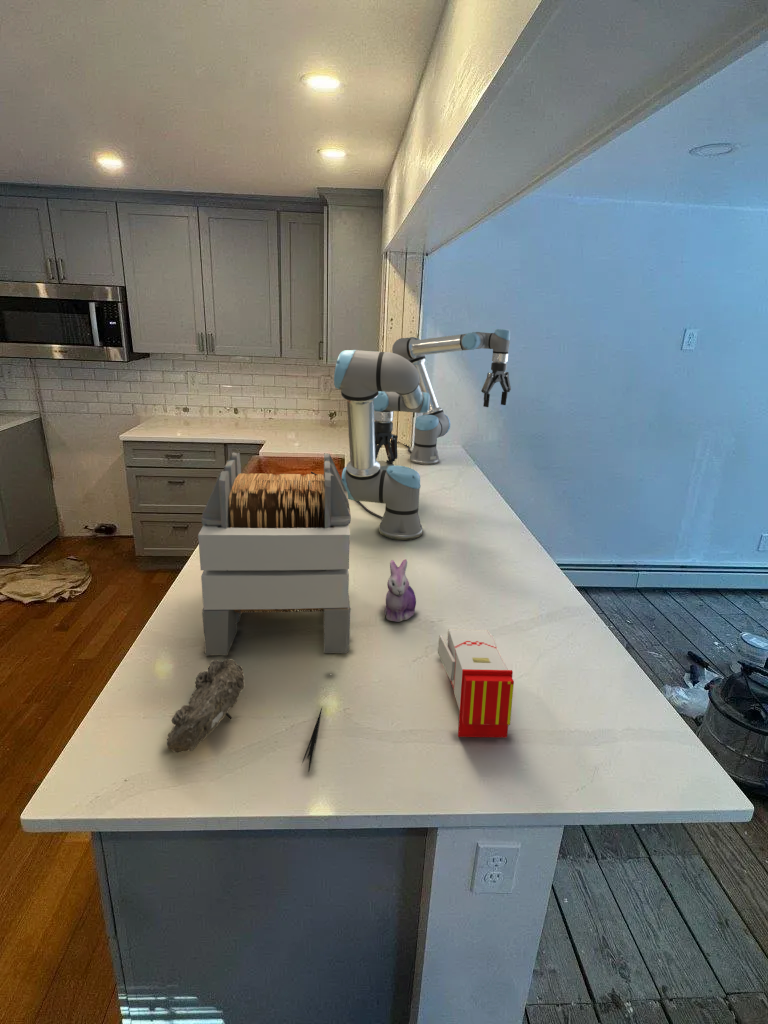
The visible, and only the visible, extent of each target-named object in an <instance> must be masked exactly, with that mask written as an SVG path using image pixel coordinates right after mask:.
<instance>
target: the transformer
mask: <svg viewBox="0 0 768 1024" xmlns="http://www.w3.org/2000/svg"><path fill="white" fill-rule="evenodd" d="M241 463H242V462H241V453H240V452H235V451H233V452H231V455H230V457H229V459H227V460H226V463H225V466H224V468H223V470H222V471H220V474H219V475H218V477H217V479H216V482H215V483H214V486H213V489H212V491H211V494H210V495H209V498H208V499H207V502H206V505H205V507H204V509H203V511H202V514H201V517H200V520H201V524H202V527H201V529H200V530H199V532H198V535H197V538H198V550H199V552H198V553H199V563H200V565H199V567H200V571H202V573H201V575H200V580H201V581H200V582H201V594H202V605H203V607H202V609H201V610H202V611H201V617H202V629H203V638H204V639H203V640H204V649H205V650H204V651H205V652H204V655H205V656H206V657H212V656H228V654H229V652H230V650H231V647H232V645H233V643H234V640H235V638H236V635H237V632H238V623H240V620H241V617H242V614H244V613H250V614H251V613H253V614H254V613H257V614H258V613H298V612H301V613H302V612H308V613H309V612H322V614H323V654H344V655H346V654H347V653H349V652H350V639H351V604H350V595H349V594H350V593H349V586H350V585H349V584H350V572H349V571H350V570H349V569H350V549H351V548H350V547H351V545H350V542H351V533H350V532H351V531H350V526H349V525H350V524H351V520H352V516H351V515H352V514H351V509H350V502H349V499H348V495H347V490H346V488H345V486H344V484H343V482H342V476H341V474H340V473H339V471H338V469H337V466H336V465H335V462H334V460H333V458H332V455H331V454H330V453H326V452H324V453H323V473H322V474H321V473H318V474H317V473H315V474H316V476H315V474H312V473H306V474H303V475H302V474H301V473H280V474H273V473H244V472H243V473H242V466H241Z"/></svg>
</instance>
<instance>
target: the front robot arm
mask: <svg viewBox="0 0 768 1024" xmlns="http://www.w3.org/2000/svg"><path fill="white" fill-rule="evenodd" d="M333 374H334V375H333V385H334V387H335V389H337V390H340V395H341V398H342V399H344V400H345V401H346V412H347V413H346V415H347V428H348V430H347V431H348V445H349V461H348V462H347V464H346V466H344V467H343V469H342V472H341V479H342V482H343V484H344V486H345V488H346V490H347V495H348V501H349V500H350V501H355V502H356V503H357V504H359V505H360V506H361V507H362V508H363V509H364V511H366V512H368V513H369V514H371V515H373V516H375V517H377V518H379V519H381V522H379V525H378V533H379V534H380V535H381V536H382V537H385V538H387V539H389V540H395V541H410V540H415V539H418V538H420V537H421V536H422V535H423V525H422V524H421V518H420V515H419V507H420V506H419V505H420V504H419V503H420V489H421V474H420V472H418V471H417V470H415V469H413V468H411V467H409V466H404V465H399V464H397V465H395V464H394V462H395V461H396V460H397V459H398V443H397V441H398V434H394V433H392V432H393V430H394V422H393V421H394V412H403V413H414V414H415V413H416V414H423V413H427V412H428V410H429V404H430V395H429V393H425V392H421V390H420V386H419V382H420V376H419V373H418V370H417V369H416V367H415V366H414V365H413V364H412V363H411V362H410V361H408V360H407V359H405V358H404V357H402V356H400V355H398V354H395V353H393V352H392V351H390V352H389V351H376V350H374V351H373V350H361V349H359V350H358V349H345V350H342V351H341V352H340V353H339V355H338V357H337V359H336V363H335V367H334V373H333ZM390 439H391V441H390ZM382 446H384V450H385V454H386V457H387V459H386V460H385V462H388V463H391V464H394V465H392V466H389V467H388V468H387V470H380V464H379V462H378V461H379V460H377V458H378V455H379V452H380V450H381V449H382ZM310 474H315V477H316V474H317V473H315V472H313V471H310ZM362 502H364V503H365V502H366V503H376V504H384V505H385V507H384V508H385V509H384V513H383V515H382V516H381V515H380V514H377V513H375V512H373V511H372V510H370V509H368V508H367V507H366V506H365V505H364V504H363V503H362Z"/></svg>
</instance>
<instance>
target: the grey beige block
mask: <svg viewBox="0 0 768 1024" xmlns="http://www.w3.org/2000/svg"><path fill="white" fill-rule="evenodd" d="M377 461H378V462H379V464H380V470H387V468H388V467H389V466H392V465H394V466H395V464H394V463H393V464H391V463H388V462H386V460H377Z"/></svg>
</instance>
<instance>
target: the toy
mask: <svg viewBox="0 0 768 1024" xmlns="http://www.w3.org/2000/svg"><path fill="white" fill-rule="evenodd" d="M446 640H447V643H446V641H445V639H444V636H443V635H442V634H439V637H438V646H437V656H438V657H439V659H440V661H441V663H442V666H443V668H444V670H445V672H446V674H447V677H448V679H449V681H450V684H451V687H452V690H453V693H454V697H455V701H456V705H457V708H458V711H459V714H458V715H459V716H458V730H457V731H458V732H457V737H458V738H508V731H509V726H510V725H511V717H512V707H513V697H514V696H513V695H514V684H515V680H514V679H513V673H514V671H513V670H512V669H508V667H507V665H506V662H505V661H504V659H503V658H502V655H501V653H500V651H499V649H498V647H497V643H496V639H495V637H494V635H493V634H491V632H490V631H489V629H467V628H466V629H465V628H463V629H461V628H460V629H459V628H448V630H447V639H446Z"/></svg>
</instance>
